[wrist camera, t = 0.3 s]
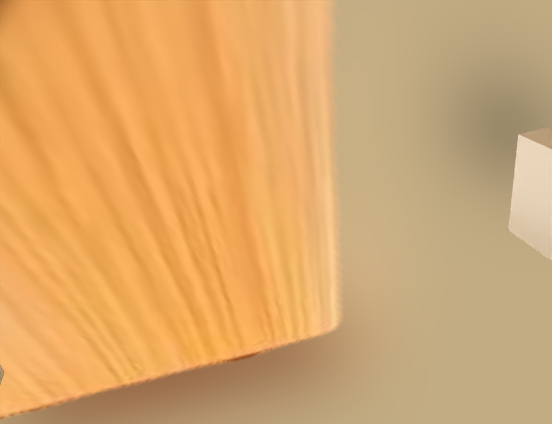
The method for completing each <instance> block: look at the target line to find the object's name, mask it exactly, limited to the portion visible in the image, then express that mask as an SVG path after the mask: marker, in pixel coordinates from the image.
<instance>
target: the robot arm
mask: <svg viewBox="0 0 552 424" xmlns="http://www.w3.org/2000/svg"><path fill="white" fill-rule="evenodd" d="M509 231H510V232H512V233H513V234H515V235H516V236H517V237H519V238H520V239H522V240H523V241H524V242H526V243H527V244H529V245H530V246H531V247H533V248H534V249H536V250H537V251H539V252H540V253H541V254H543V255H544V256H546V257H547V258H548V259H550V260H551V261H552V130H550V129H548V128H543V129H539V130H535V131H531V132H527V133H523V134H519V135H518V144H517V153H516V162H515V173H514V182H513V191H512V201H511V211H510V220H509ZM3 375H4V371H3V369H2V367H1V366H0V384H1V381H2V378H3Z"/></svg>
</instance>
